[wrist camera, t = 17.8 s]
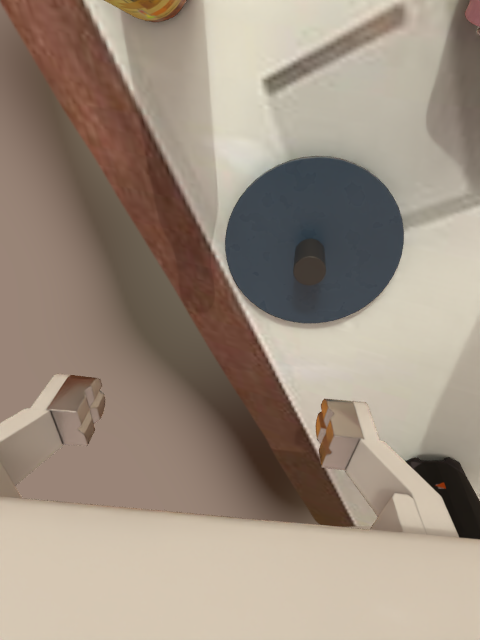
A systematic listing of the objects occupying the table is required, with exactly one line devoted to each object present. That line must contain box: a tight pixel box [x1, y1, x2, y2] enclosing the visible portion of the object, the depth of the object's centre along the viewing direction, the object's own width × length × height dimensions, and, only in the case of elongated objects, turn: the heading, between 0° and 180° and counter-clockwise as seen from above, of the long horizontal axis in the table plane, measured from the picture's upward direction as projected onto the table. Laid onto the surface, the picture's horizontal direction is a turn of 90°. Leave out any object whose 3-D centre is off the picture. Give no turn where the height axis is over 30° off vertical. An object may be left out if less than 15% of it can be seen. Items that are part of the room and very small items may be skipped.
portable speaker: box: [406, 458, 480, 539], centre depth 38 cm, size 9×9×20 cm
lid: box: [225, 156, 404, 323], centre depth 29 cm, size 16×16×5 cm
